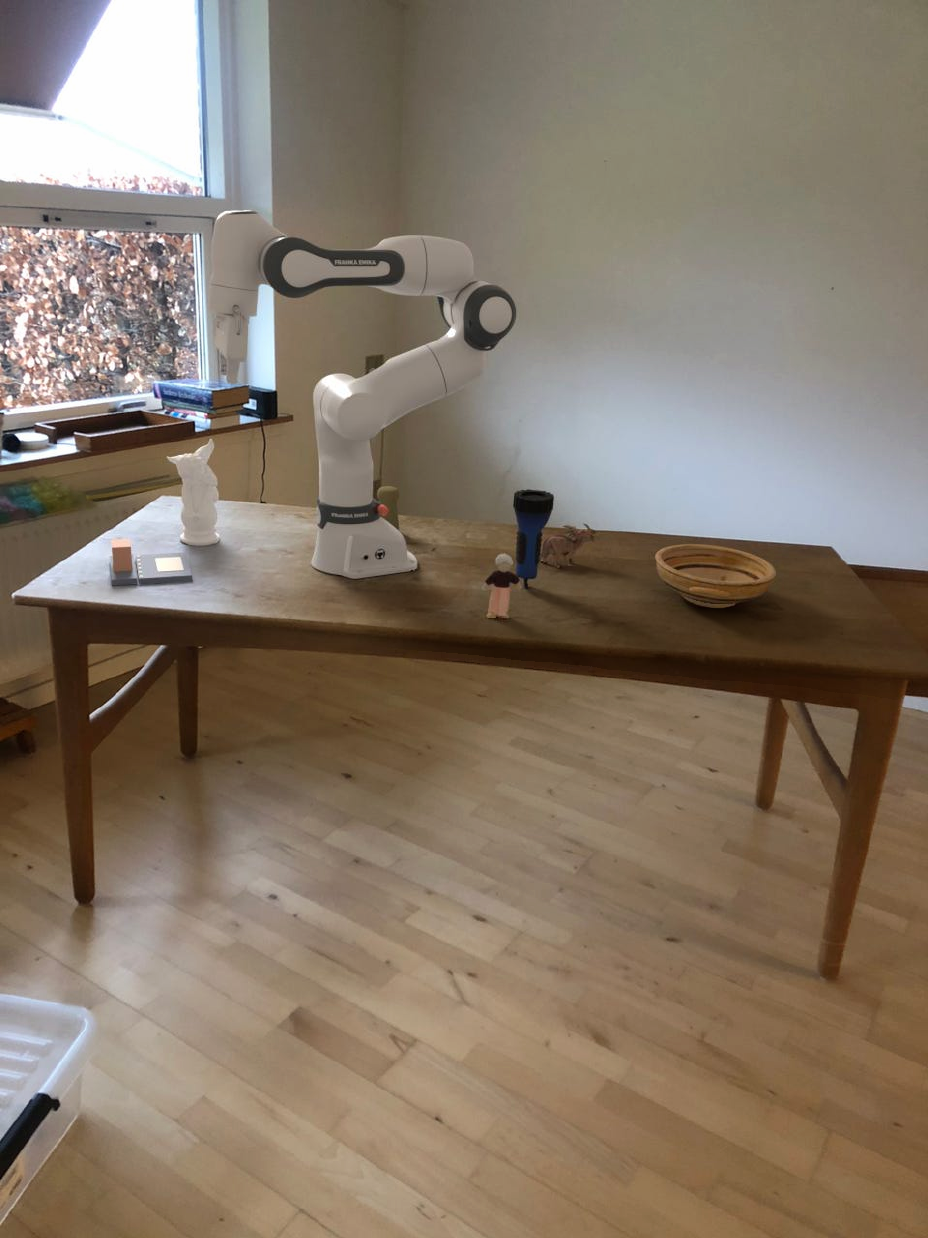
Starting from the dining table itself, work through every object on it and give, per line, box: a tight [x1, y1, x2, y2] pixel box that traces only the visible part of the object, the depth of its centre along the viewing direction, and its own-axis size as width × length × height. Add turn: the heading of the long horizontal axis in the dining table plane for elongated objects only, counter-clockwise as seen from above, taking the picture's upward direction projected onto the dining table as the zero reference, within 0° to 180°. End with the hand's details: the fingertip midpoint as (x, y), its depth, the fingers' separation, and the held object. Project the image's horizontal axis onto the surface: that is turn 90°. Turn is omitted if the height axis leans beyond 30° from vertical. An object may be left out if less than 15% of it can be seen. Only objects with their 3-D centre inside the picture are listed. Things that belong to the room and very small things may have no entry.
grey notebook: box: [135, 552, 193, 585], centre depth 194 cm, size 10×14×1 cm
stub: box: [109, 538, 138, 586], centre depth 190 cm, size 5×14×6 cm, turn 20°
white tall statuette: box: [166, 438, 221, 547], centre depth 210 cm, size 12×12×22 cm
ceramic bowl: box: [654, 543, 777, 604], centre depth 197 cm, size 30×24×8 cm
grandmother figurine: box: [480, 553, 522, 619], centre depth 180 cm, size 8×4×13 cm, turn 114°
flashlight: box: [512, 488, 555, 589], centre depth 193 cm, size 8×8×20 cm
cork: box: [376, 485, 400, 530], centre depth 224 cm, size 6×6×11 cm
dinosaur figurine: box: [539, 523, 597, 566], centre depth 211 cm, size 14×6×9 cm, turn 116°
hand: (227, 378), depth 181 cm, fingers open, 8 cm apart
